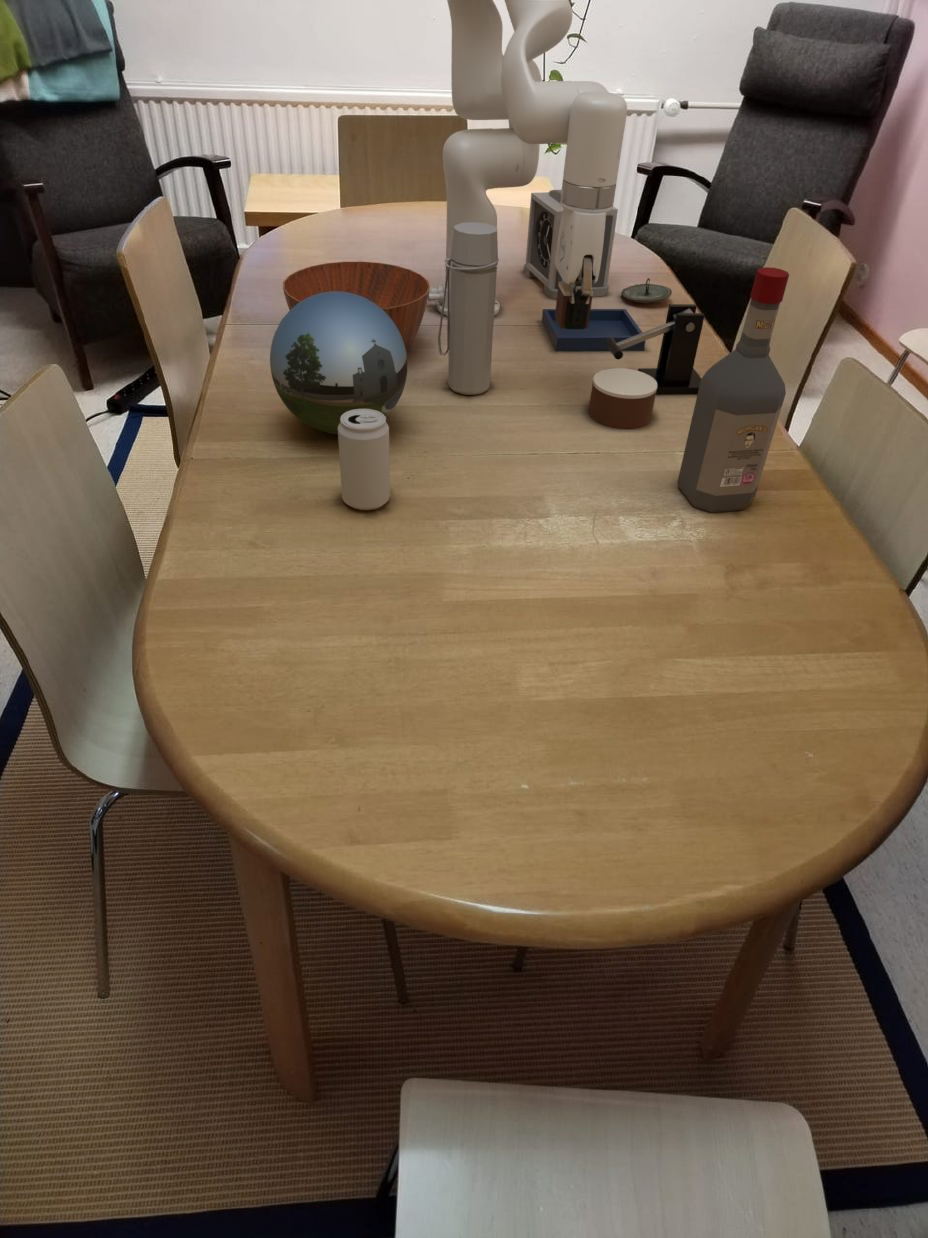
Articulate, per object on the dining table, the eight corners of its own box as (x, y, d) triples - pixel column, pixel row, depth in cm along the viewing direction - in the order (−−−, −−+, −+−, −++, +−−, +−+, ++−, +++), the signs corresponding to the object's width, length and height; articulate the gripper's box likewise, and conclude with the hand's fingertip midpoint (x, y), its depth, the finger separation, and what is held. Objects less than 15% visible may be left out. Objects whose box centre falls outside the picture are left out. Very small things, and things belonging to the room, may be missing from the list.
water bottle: (496, 382, 143) (507, 224, 127) (482, 400, 137) (491, 238, 121) (445, 373, 145) (449, 216, 129) (429, 391, 139) (431, 229, 123)
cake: (596, 429, 131) (601, 395, 127) (582, 400, 139) (586, 368, 135) (658, 428, 132) (665, 394, 129) (641, 400, 140) (647, 367, 136)
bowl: (454, 362, 149) (457, 296, 141) (323, 389, 138) (318, 320, 131) (390, 315, 165) (388, 254, 157) (267, 336, 154) (260, 272, 147)
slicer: (649, 394, 141) (664, 318, 133) (636, 374, 148) (650, 300, 139) (707, 393, 143) (724, 318, 134) (691, 374, 149) (708, 300, 140)
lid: (674, 314, 175) (684, 290, 173) (634, 306, 171) (644, 280, 169) (649, 299, 183) (658, 276, 181) (611, 290, 179) (620, 266, 176)
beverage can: (342, 488, 115) (337, 406, 107) (390, 487, 115) (388, 406, 108) (341, 513, 110) (335, 429, 102) (390, 513, 110) (389, 429, 103)
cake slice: (559, 328, 130) (564, 291, 126) (554, 317, 133) (558, 281, 129) (587, 328, 130) (593, 291, 127) (581, 317, 134) (586, 281, 130)
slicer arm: (616, 363, 138) (612, 350, 137) (607, 349, 143) (604, 336, 141) (699, 330, 136) (697, 317, 135) (688, 317, 141) (685, 303, 139)
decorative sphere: (428, 444, 125) (430, 309, 112) (301, 470, 118) (287, 329, 105) (379, 391, 138) (375, 265, 126) (261, 411, 131) (245, 279, 118)
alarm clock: (522, 270, 189) (529, 180, 177) (576, 267, 192) (587, 179, 180) (551, 299, 175) (560, 203, 164) (609, 295, 179) (623, 201, 167)
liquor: (759, 509, 115) (829, 283, 95) (697, 515, 113) (755, 286, 94) (729, 476, 121) (789, 258, 102) (670, 480, 120) (719, 260, 101)
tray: (556, 351, 154) (557, 337, 153) (541, 321, 165) (542, 308, 164) (643, 350, 156) (646, 337, 155) (623, 321, 167) (625, 308, 166)
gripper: (550, 178, 126) (538, 301, 137) (574, 211, 113) (557, 344, 125) (599, 179, 126) (583, 301, 138) (628, 212, 114) (607, 344, 126)
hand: (571, 320), depth 131 cm, fingers closed on cake slice, 4 cm apart
